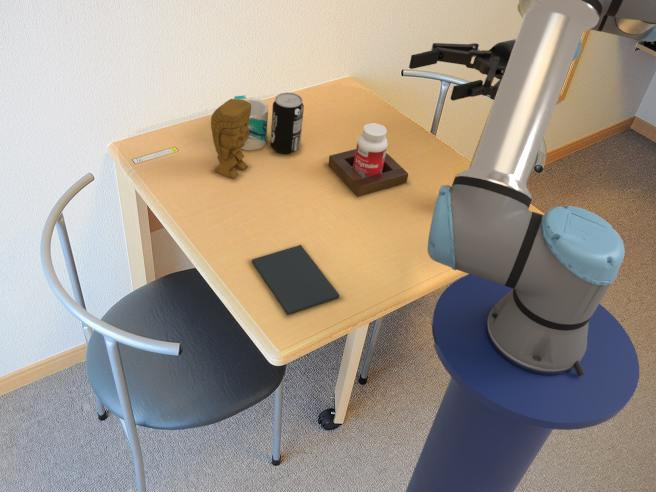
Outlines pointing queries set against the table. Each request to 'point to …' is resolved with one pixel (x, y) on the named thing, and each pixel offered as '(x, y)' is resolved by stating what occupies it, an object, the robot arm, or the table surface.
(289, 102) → the beverage can
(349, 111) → the table surface
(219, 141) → the figurine
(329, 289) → the mat
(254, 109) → the mug
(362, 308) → the table surface
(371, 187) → the holder
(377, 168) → the pill bottle
